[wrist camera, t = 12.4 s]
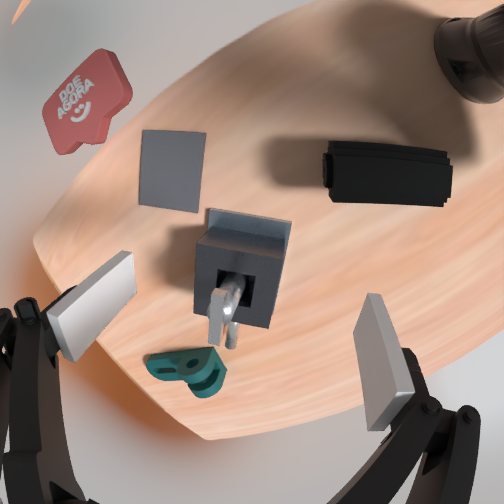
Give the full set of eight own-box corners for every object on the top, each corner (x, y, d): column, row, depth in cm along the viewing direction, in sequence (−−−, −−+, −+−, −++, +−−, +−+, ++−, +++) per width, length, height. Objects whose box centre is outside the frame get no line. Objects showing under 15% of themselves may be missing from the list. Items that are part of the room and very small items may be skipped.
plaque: (62, 173, 39) (37, 109, 34) (75, 169, 42) (51, 109, 38) (132, 110, 33) (100, 43, 29) (145, 111, 37) (113, 47, 32)
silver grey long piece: (236, 243, 42) (203, 292, 29) (255, 247, 41) (231, 299, 28) (231, 283, 45) (201, 341, 32) (249, 287, 44) (226, 347, 31)
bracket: (213, 345, 52) (203, 374, 45) (227, 368, 55) (218, 397, 47) (144, 354, 57) (130, 378, 50) (159, 374, 59) (147, 398, 52)
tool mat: (145, 129, 38) (143, 129, 37) (206, 133, 37) (205, 133, 36) (141, 203, 42) (139, 204, 42) (198, 212, 42) (197, 213, 41)
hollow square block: (211, 207, 41) (194, 224, 34) (291, 221, 40) (291, 241, 33) (202, 326, 50) (189, 354, 43) (266, 339, 50) (261, 370, 42)
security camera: (433, 194, 35) (467, 211, 26) (319, 188, 38) (327, 205, 29) (435, 149, 33) (472, 156, 23) (318, 140, 35) (327, 140, 26)
